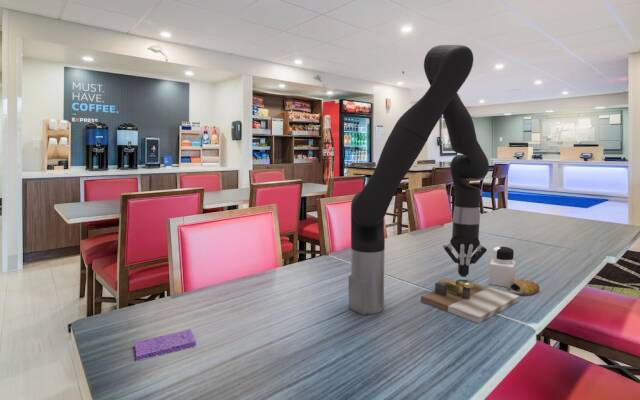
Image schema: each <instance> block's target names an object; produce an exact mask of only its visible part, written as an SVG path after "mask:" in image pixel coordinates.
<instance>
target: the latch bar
mask: <svg viewBox="0 0 640 400" xmlns="http://www.w3.org/2000/svg"><path fill="white" fill-rule="evenodd" d="M438 282H440V283H443V284H446V285H447V292H449V293H452V294H454V295H457V296H458V295H461V294H463V287H464V288H473V287H474V283H475V282H474V281H472V280H468V279H456V280H453V279H450V278H447V277H443V278H439V279H438Z"/></svg>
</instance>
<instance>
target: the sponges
mask: <svg viewBox="0 0 640 400" xmlns="http://www.w3.org/2000/svg"><path fill="white" fill-rule="evenodd" d="M196 340H197V339H196V338H195V335H194V333H193V332H192V329H191V328H189V329H185V330H181V331H177V332H173V333H168V334H164V335H158V336H154V337H149V338H146V339H141V340H136V341H134V351H136V353H135V356H136V357H135V360H139V361H141V360H140V359H143V358H147V357H151V358H154V357H153V356H155V357H157V356H156V355H159V356H162V355H161V354H163V355H165V353H167V354H171V353H174V352H173V351H175V352H179V351H182V350H181V349H184V350H187V349H186V348H188V349H191V348H190V347H192V348H195V347H194V346H196V347H197V343H196V342H197V341H196ZM170 352H171V353H170ZM147 359H148V358H147ZM143 360H144V359H143Z"/></svg>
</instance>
